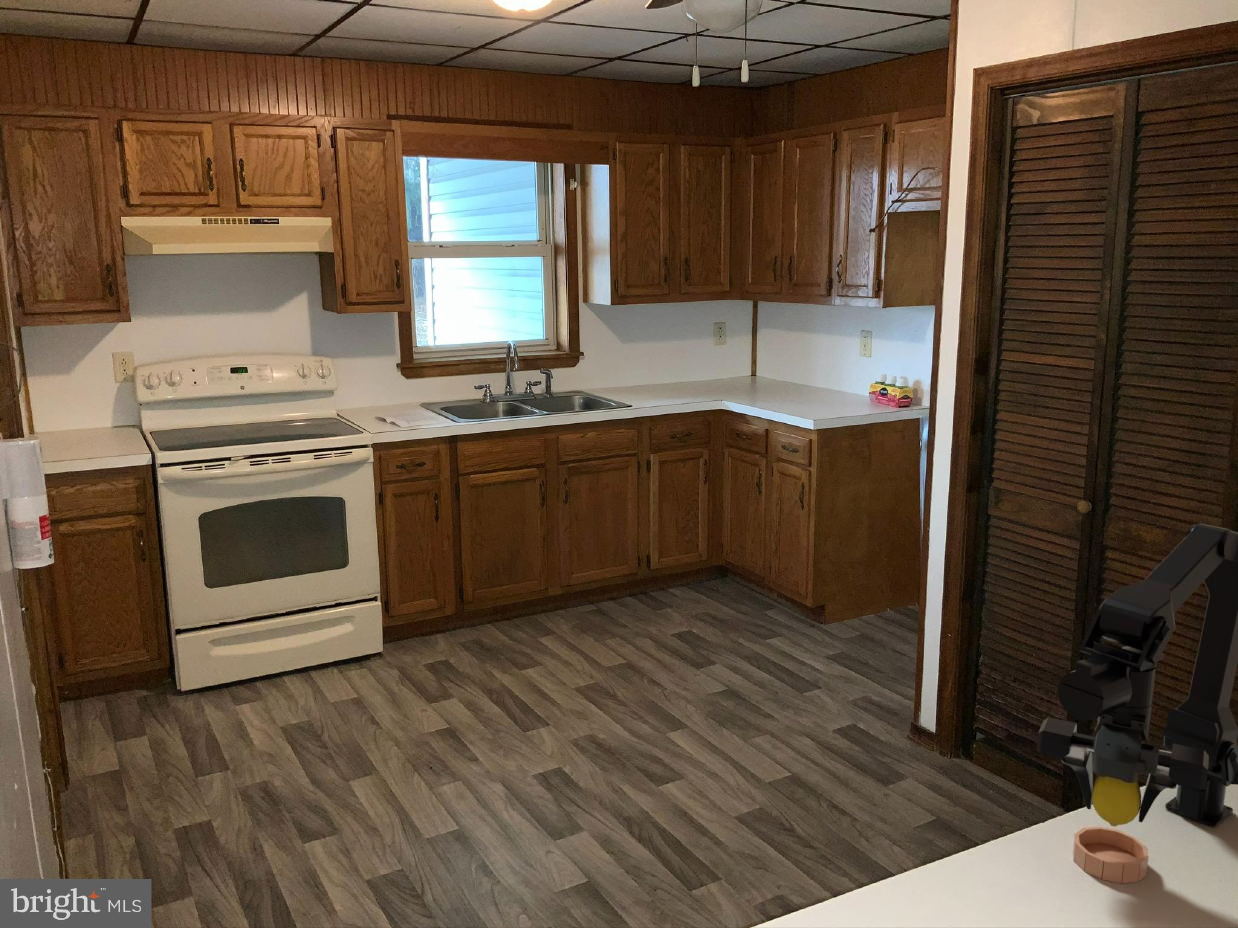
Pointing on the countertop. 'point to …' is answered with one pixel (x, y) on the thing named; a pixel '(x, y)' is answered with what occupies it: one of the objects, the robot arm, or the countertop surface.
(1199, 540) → the robot arm
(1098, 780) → the lemon
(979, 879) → the countertop surface
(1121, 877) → the dish
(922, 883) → the countertop surface
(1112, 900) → the countertop surface
